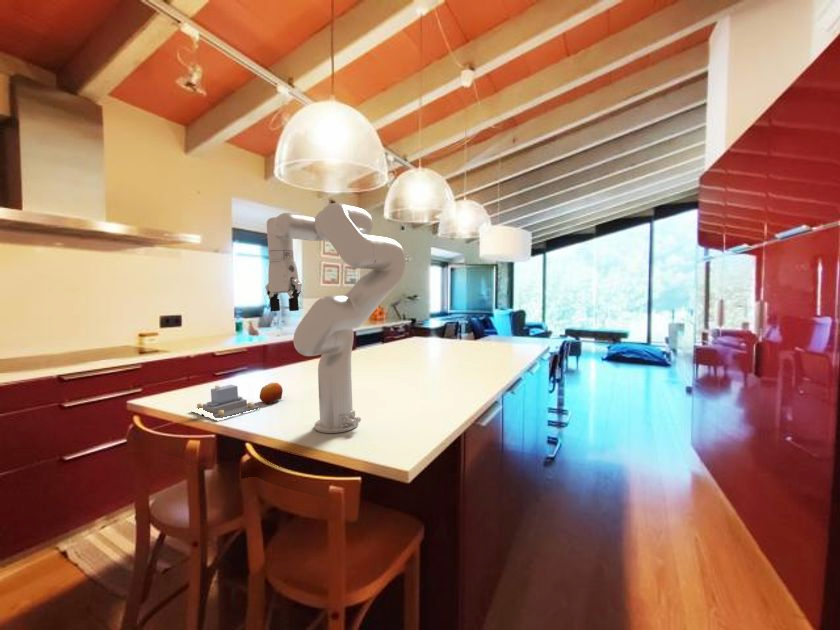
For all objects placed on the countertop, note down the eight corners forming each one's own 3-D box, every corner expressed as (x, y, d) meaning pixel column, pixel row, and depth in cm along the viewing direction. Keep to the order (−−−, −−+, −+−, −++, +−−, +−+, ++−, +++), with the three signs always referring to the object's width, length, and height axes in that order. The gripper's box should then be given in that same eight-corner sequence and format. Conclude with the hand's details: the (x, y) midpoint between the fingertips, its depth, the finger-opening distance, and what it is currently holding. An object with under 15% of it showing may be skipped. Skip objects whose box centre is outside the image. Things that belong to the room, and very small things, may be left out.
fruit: (283, 400, 138) (270, 381, 138) (265, 412, 139) (252, 393, 138) (291, 394, 146) (279, 376, 146) (273, 405, 147) (262, 387, 146)
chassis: (259, 409, 133) (259, 400, 133) (218, 421, 122) (217, 412, 122) (231, 401, 144) (230, 393, 143) (191, 411, 132) (190, 403, 132)
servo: (242, 405, 135) (241, 382, 135) (213, 412, 127) (211, 388, 127) (236, 403, 138) (235, 380, 137) (207, 410, 130) (205, 387, 129)
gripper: (308, 255, 123) (311, 310, 124) (275, 260, 133) (278, 310, 134) (288, 254, 117) (291, 311, 118) (254, 259, 127) (258, 311, 128)
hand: (284, 310), depth 126 cm, fingers open, 9 cm apart
